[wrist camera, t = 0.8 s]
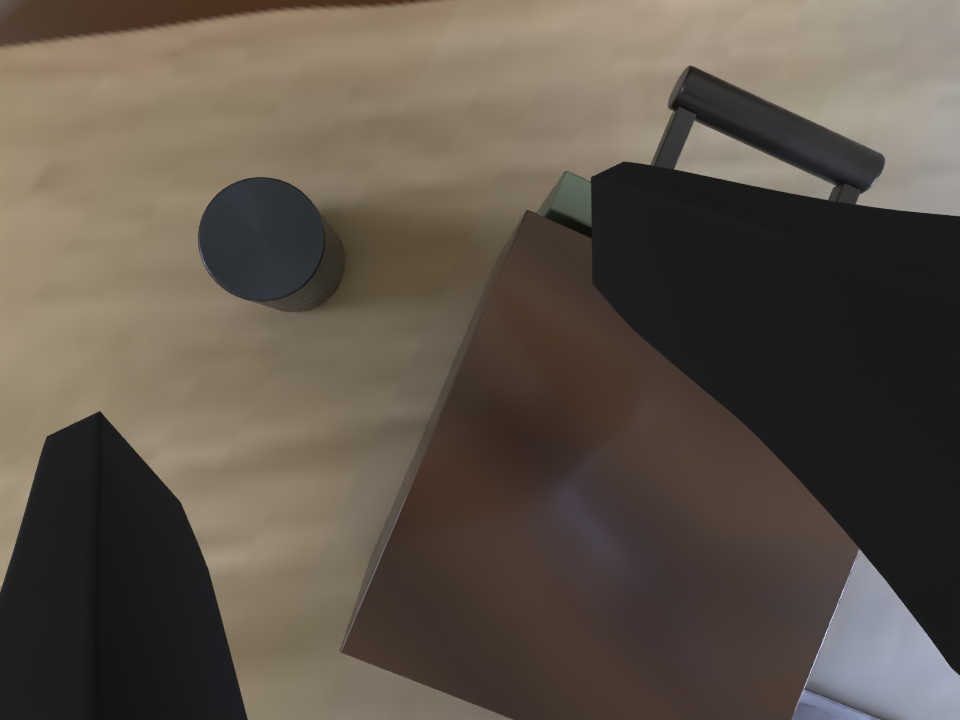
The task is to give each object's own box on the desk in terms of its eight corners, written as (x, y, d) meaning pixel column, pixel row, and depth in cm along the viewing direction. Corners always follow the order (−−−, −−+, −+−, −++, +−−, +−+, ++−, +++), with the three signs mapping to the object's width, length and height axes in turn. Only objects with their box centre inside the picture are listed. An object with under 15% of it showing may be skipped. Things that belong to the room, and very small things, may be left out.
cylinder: (360, 235, 25) (344, 206, 20) (320, 328, 25) (294, 320, 20) (265, 193, 24) (227, 156, 20) (224, 287, 24) (176, 271, 20)
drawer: (583, 99, 24) (629, 18, 19) (844, 218, 25) (967, 175, 19) (411, 504, 24) (404, 551, 18) (682, 615, 25) (758, 693, 19)
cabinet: (498, 254, 25) (526, 208, 17) (782, 378, 26) (927, 386, 18) (368, 562, 25) (339, 652, 17) (659, 679, 25) (755, 814, 18)
